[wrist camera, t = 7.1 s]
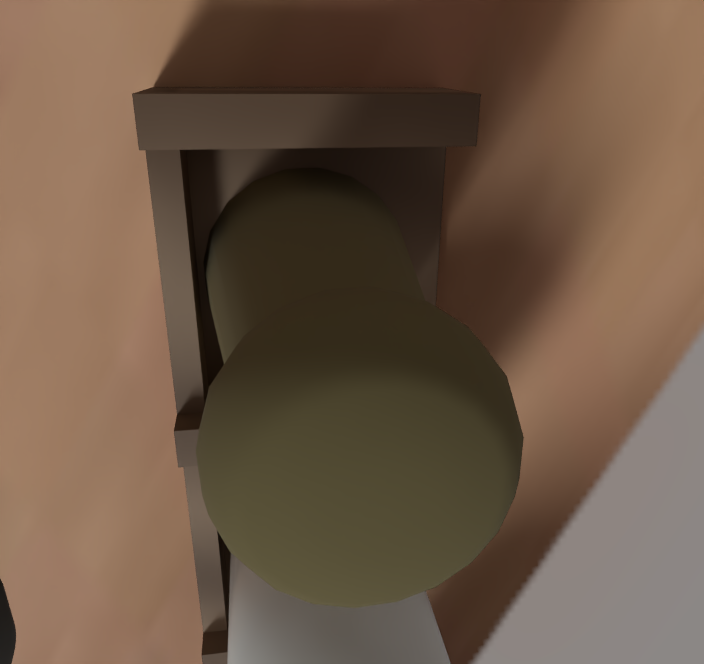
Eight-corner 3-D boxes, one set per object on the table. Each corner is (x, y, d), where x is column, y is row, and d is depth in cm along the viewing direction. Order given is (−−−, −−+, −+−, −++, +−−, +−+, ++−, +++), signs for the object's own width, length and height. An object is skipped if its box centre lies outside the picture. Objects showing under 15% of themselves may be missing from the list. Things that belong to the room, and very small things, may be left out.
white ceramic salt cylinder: (388, 557, 24) (491, 920, 14) (237, 573, 23) (231, 972, 13) (393, 429, 21) (522, 755, 11) (226, 443, 21) (208, 804, 11)
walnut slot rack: (411, 580, 25) (433, 650, 22) (209, 603, 24) (204, 680, 21) (441, 87, 18) (480, 94, 15) (152, 87, 17) (131, 93, 14)
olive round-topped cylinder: (176, 191, 17) (85, 380, 7) (390, 146, 18) (582, 266, 8) (233, 381, 20) (223, 712, 10) (418, 337, 20) (590, 613, 10)
